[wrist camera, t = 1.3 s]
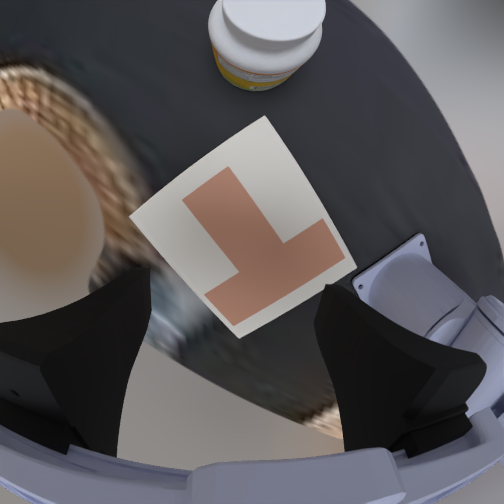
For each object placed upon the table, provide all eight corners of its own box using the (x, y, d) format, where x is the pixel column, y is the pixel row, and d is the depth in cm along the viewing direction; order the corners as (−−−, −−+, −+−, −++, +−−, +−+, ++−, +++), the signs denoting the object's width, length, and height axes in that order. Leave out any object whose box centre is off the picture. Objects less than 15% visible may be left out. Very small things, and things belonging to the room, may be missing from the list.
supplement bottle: (243, 13, 14) (252, -62, 6) (307, 50, 16) (364, -1, 7) (200, 69, 16) (173, 18, 7) (267, 106, 18) (299, 84, 9)
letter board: (354, 264, 23) (357, 267, 22) (238, 334, 25) (238, 338, 25) (263, 115, 18) (265, 115, 17) (131, 214, 20) (128, 216, 19)
